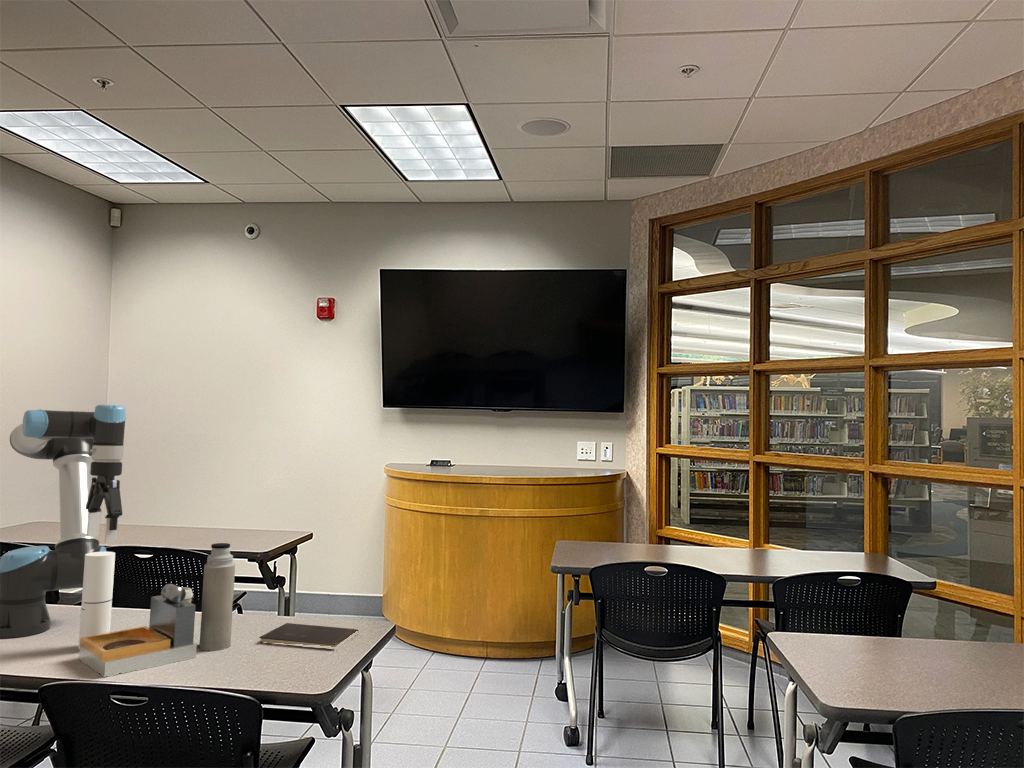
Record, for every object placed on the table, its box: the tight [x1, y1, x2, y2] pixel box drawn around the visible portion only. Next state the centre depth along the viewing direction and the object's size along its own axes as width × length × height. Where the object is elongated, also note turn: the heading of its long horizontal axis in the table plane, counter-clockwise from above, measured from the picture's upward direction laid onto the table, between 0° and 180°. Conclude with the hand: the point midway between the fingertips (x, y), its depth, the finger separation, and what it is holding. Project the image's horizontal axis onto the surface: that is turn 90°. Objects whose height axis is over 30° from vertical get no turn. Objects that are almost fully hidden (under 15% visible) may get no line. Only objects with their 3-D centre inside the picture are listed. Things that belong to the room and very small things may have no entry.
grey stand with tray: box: [78, 583, 198, 678], centre depth 184 cm, size 18×22×18 cm
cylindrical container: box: [78, 551, 116, 651], centre depth 192 cm, size 7×7×25 cm
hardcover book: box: [258, 622, 359, 647], centre depth 206 cm, size 16×23×2 cm
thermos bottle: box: [199, 542, 236, 651], centre depth 197 cm, size 8×8×28 cm
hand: (101, 539), depth 193 cm, fingers open, 13 cm apart
